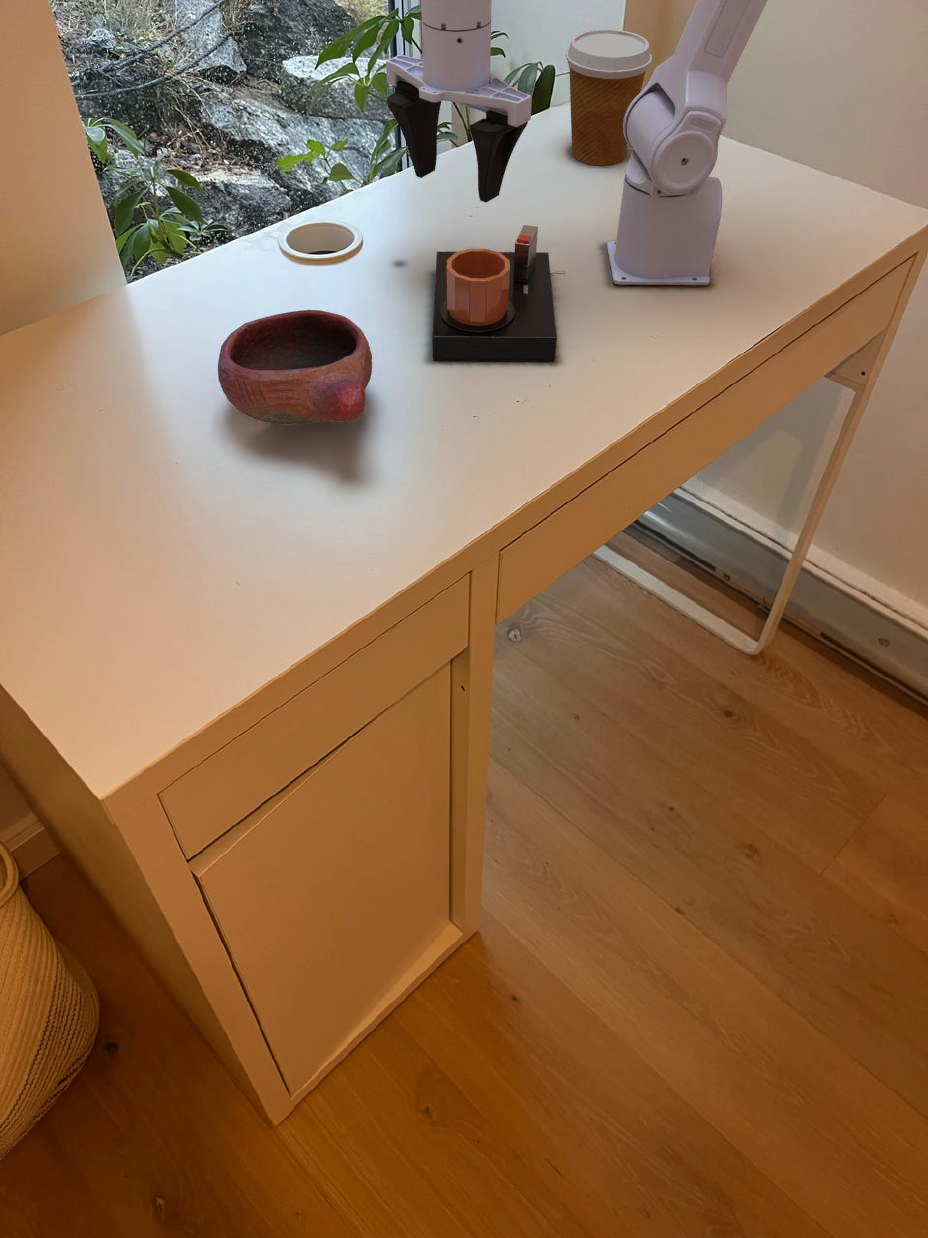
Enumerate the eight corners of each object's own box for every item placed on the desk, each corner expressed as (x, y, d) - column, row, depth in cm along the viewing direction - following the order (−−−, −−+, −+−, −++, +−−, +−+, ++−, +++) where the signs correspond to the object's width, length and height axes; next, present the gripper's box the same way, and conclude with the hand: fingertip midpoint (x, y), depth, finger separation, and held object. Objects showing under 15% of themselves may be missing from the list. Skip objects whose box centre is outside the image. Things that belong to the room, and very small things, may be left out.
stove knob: (521, 261, 94) (523, 221, 91) (535, 263, 94) (538, 223, 91) (512, 280, 92) (514, 240, 89) (527, 282, 92) (529, 242, 89)
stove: (560, 275, 98) (562, 250, 96) (570, 361, 88) (572, 336, 86) (437, 274, 98) (436, 249, 96) (432, 360, 88) (432, 334, 86)
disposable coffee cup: (554, 168, 113) (562, 55, 104) (562, 134, 120) (571, 24, 111) (636, 174, 112) (652, 61, 103) (640, 139, 119) (655, 30, 110)
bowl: (194, 426, 81) (173, 343, 75) (285, 350, 89) (272, 268, 83) (356, 489, 76) (347, 405, 70) (437, 402, 84) (436, 319, 78)
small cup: (507, 294, 90) (509, 248, 87) (508, 327, 86) (510, 280, 83) (447, 293, 90) (447, 247, 87) (446, 326, 86) (446, 280, 83)
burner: (513, 292, 91) (514, 290, 91) (515, 333, 86) (515, 331, 86) (441, 292, 91) (441, 290, 91) (439, 332, 86) (439, 330, 86)
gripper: (357, 12, 80) (369, 177, 90) (496, 54, 74) (492, 225, 84) (413, -10, 84) (419, 151, 94) (550, 28, 78) (540, 196, 88)
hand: (456, 185), depth 89 cm, fingers open, 7 cm apart
